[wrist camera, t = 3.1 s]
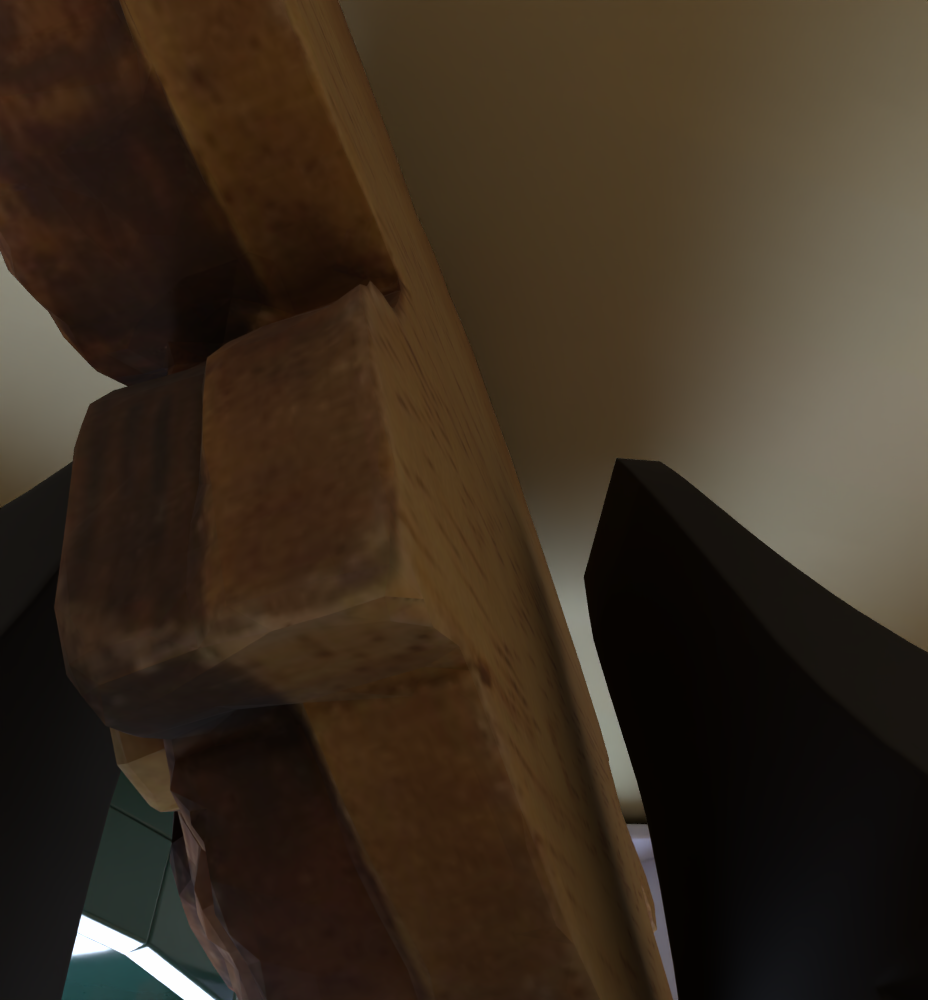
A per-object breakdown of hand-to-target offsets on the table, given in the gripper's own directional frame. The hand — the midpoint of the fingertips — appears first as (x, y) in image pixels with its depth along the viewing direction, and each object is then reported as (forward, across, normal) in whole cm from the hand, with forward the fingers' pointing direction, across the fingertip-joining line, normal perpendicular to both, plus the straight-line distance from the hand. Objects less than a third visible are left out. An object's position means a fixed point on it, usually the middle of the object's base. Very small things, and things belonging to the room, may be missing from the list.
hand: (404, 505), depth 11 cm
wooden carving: (+3, 0, 0) cm, 3 cm away
